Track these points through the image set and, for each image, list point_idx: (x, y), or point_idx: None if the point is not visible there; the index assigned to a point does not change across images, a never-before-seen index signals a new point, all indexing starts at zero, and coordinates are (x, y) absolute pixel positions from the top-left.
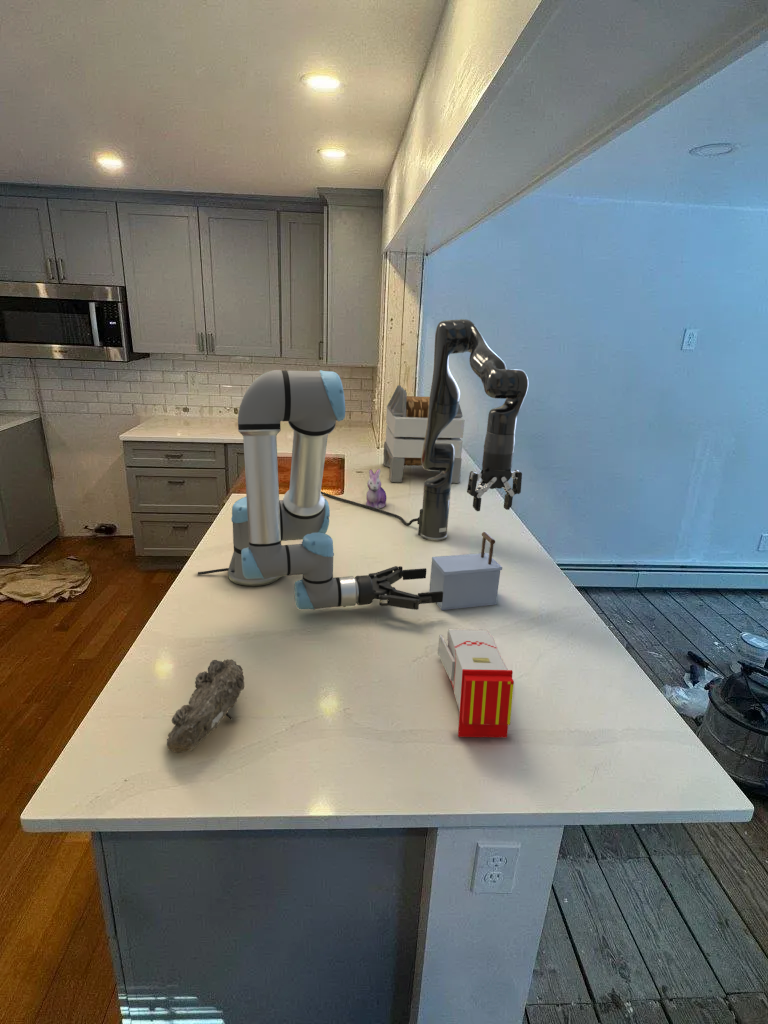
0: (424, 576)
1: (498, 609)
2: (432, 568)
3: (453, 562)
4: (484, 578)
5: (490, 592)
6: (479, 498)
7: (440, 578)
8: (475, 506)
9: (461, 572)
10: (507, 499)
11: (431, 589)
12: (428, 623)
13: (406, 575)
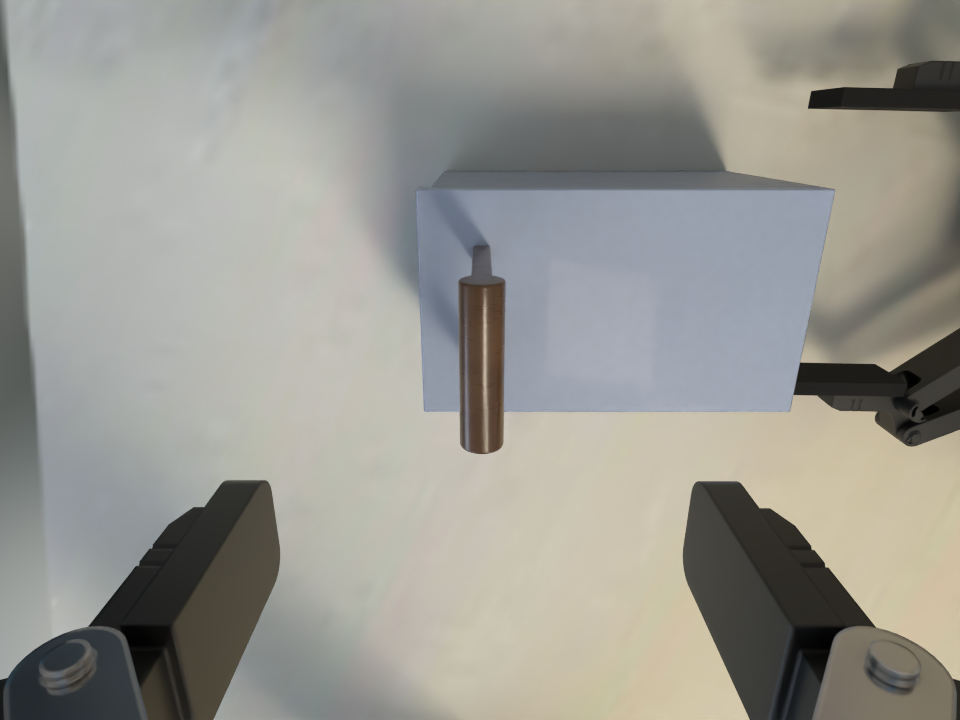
0: None
1: (453, 122)
2: None
3: (702, 316)
4: (535, 182)
5: (482, 175)
6: (832, 624)
7: None
8: (796, 535)
9: (711, 187)
10: (208, 608)
11: None
12: (848, 60)
13: (874, 373)
